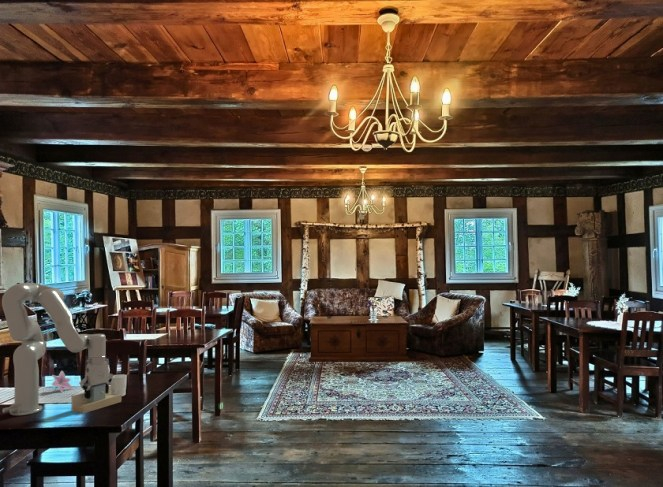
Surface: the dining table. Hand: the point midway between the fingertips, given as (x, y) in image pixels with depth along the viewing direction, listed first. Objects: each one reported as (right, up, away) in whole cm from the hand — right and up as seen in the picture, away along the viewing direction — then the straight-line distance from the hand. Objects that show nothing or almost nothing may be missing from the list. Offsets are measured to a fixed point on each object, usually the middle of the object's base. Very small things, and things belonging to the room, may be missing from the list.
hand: (96, 395), depth 225 cm
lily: (-34, -7, +30) cm, 46 cm away
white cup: (+2, -6, +18) cm, 19 cm away
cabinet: (0, -2, 0) cm, 2 cm away
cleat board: (0, -5, 0) cm, 5 cm away
